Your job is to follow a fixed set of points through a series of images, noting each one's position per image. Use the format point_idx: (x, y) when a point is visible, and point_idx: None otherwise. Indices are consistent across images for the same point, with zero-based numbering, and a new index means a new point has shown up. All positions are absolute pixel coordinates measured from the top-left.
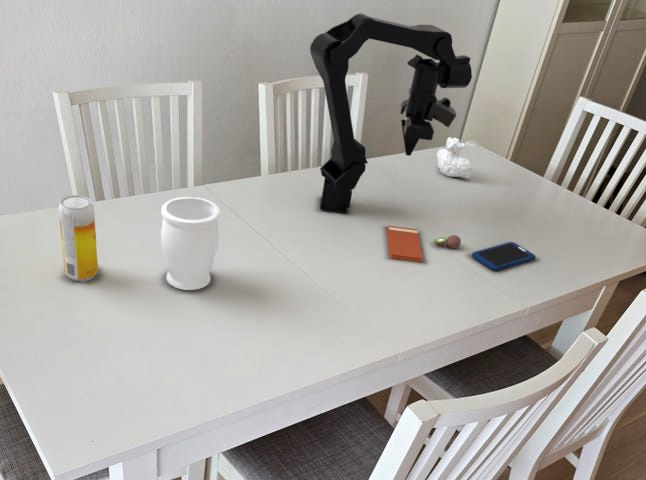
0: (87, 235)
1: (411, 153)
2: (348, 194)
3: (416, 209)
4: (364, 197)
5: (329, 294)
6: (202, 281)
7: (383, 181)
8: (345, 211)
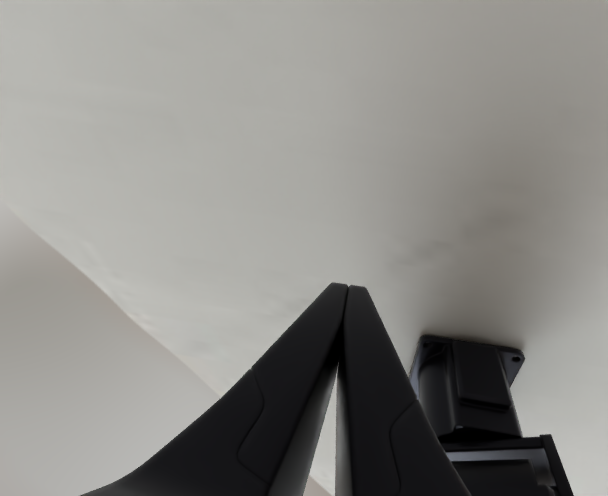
0: None
1: (371, 299)
2: (513, 406)
3: (467, 35)
4: (362, 269)
5: None
6: None
7: (173, 171)
8: (522, 359)
